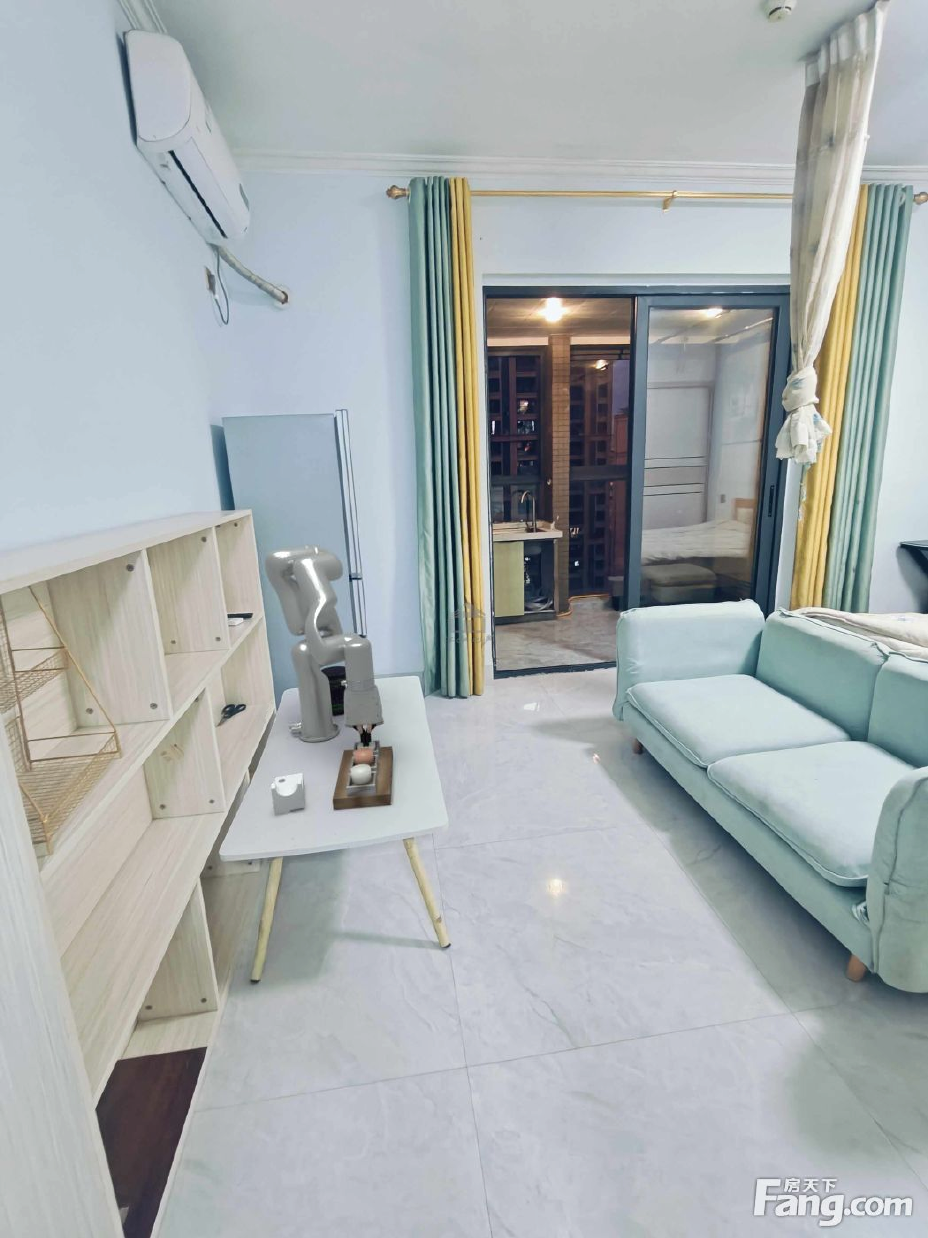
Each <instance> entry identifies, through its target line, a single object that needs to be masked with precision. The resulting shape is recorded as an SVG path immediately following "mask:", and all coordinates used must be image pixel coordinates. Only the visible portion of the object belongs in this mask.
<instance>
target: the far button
mask: <svg viewBox="0 0 928 1238" xmlns="http://www.w3.org/2000/svg"><path fill="white" fill-rule="evenodd" d="M359 742H360V743H358V745H357V748H358V749H360V748H370V749H372V750H373V751H376V747H375V742H374V740H372V742H370V743H369V747H367V746H365V747H363V743H361V741H359Z"/></svg>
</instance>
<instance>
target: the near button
mask: <svg viewBox="0 0 928 1238" xmlns="http://www.w3.org/2000/svg"><path fill="white" fill-rule="evenodd" d="M351 779H352V783H353V784H356V785H363V784H367V783H369V782H370V781H371V780H372V776H371V767H370V766H369V765H367V764H359V765H355V766H354V767H352V768H351Z"/></svg>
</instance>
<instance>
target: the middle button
mask: <svg viewBox="0 0 928 1238" xmlns="http://www.w3.org/2000/svg"><path fill="white" fill-rule="evenodd" d="M354 761H355V765H359V764H367V765H369V766H370V765H371V764H373V762H374V759H373V750H372V749H370V748H360V749H357V750H356V751H355V752H354Z"/></svg>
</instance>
